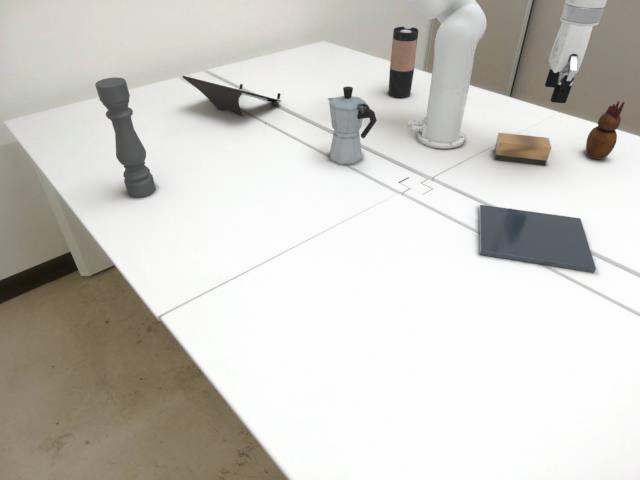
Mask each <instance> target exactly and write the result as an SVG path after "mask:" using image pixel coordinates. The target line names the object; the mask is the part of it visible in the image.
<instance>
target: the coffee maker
mask: <svg viewBox="0 0 640 480" xmlns="http://www.w3.org/2000/svg"><path fill="white" fill-rule="evenodd" d="M353 90H354V88H353V87H352V86H350V85H349V86H348V85H347V86H343V88H342V92H343V95H341V96H337V97H336V96H335V97H328V98H327V100H328V101H329V102H328V105H329V112H330V120H331V128H332V129H333V134H332V139H331V145H330V151H329V159H330V161H331V162H333V163H336V164H338V165H340V166H344V165H347V166H348V165H355V164H357V163H359V162H361V161H362V160H363V155H362V154H363V153H362V145H361V138H362V139H365V138H366V137H367V135H368V134H369V133H370V131H371V130H372V128H373V127H374V126H375V124H376V123H377V121H378V120H377V116H376V113H375V111H374V110H373V109H371V107H370V106H369V104H367V101H365V100H363V99H362V98H361V97H359V96H353V92H354V91H353ZM364 119H369V122H368V123H367V125H366V127H365V128H364V129H363V131H362V132H361V133H360V129H361V128H362V125H363V120H364Z"/></svg>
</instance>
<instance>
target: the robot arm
mask: <svg viewBox="0 0 640 480" xmlns="http://www.w3.org/2000/svg"><path fill="white" fill-rule="evenodd" d="M406 1H407V2H408V4H409V5H410V6H411V8H412V9H413V11H414V12H415V13H416V14H417V15H418V16H419V18H421V19H424V20H434V19H437V21H438V22H439V23H440V25H439V27H438V29H437V31H436V34H435V37H434V48H433V49H434V50H433V63H432V73H431V77H430V87H429V94H428V101H427V107H426V112H425V113H426V114H425V117H424V120H421V119H420V120H419V121H418V120H414V119H413V120H412V119H408V122H407V128H411V131H414V132H417V136H416V138H417V139H418V141H419V142H420V143H421V144H423V145H424V146H427V147H430V148H433V149H441V150H448V149H449V150H451V149H456V148H458V147H460V146H462V145H463V144H464V143H465V138H466V135H465V134H464V133H463V132H462V131H461V128H462V125H463V118H464V114H465V110H466V104H467V100H468V94H469V89H470V85H471V84H470V83H471V80H472V74H473V69H474V68H473V67H474V63H475V62H474V60H475V56H476V55H475V54H476V50H477V46H478V44H479V43H480V41H481V40H482V39H483V37H484V35H485V33H486V30H487V16H486V14H485V12H484V10H483V9H482V7H481V6H480V4H479V3H478V2H477V0H406ZM607 2H608V0H565V2H564V6H563V8H562V11H561V15H560V18H559V21H560V22H561V24H560V26H559V29H558V31H557V34H556V36H555V39H554V42H553V44H552V45H553V46H552V47H551V50H550V54H549V57H548V64H549V66H550V68H549V70H548V73H547V76H546V80H545V83H544V87H546V88H553V91H552V94H551V97H550V102H551V103H556V104H566V103H567V101H568V97H569V95H570V92H571V89H572V87H573V84H574V80H575V76H576V74H577V73H578V72H579V70H580V68H581V65H582V62H583V60H584V57H585V55H586V51H587V48H588V46H589V45H588V44H589V42H590V38H591V36H592V35H591V34H592V31H593V28H594V27H595V26H598V25H599V24H600V22H601V19H602V16H603V13H604V10H605V9H606V5H607Z"/></svg>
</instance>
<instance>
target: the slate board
mask: <svg viewBox="0 0 640 480" xmlns="http://www.w3.org/2000/svg"><path fill="white" fill-rule="evenodd" d="M478 212H479V213H478V214H479V217H478V220H479V225H478V226H479V255H480V256H485V257H486V256H487V257H493V258H499V259H500V258H501V259H506V260H512V261H519V262H525V263H532V264H537V265H544V266H549V267H550V266H551V267H557V268H563V269H568V270H569V269H570V270H574V271H575V270H577V271H581V272H582V271H584V272H587V273H595V271H596V269H597V267H596V264H595V261H594V257H593V255H592V251H591V248H590V245H589V242H588V238H587V235H586V232H585V228H584V225H583V222H582V218H580V217H573V216H566V215H557V214H551V213H544V212H537V211H529V210H522V209H516V208H508V207H500V206H492V205H485V204H480V205H479V208H478Z"/></svg>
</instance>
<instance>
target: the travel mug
mask: <svg viewBox="0 0 640 480" xmlns="http://www.w3.org/2000/svg"><path fill="white" fill-rule="evenodd" d="M418 38H419V29H418V28H417V27H410V28H406V27H405V26H396V27H394V29H393V33H392V43H391V53H390V64H389V78H388V95H389V96H390V97H392V98H395V99H405V98H409V97H410V96H411V92H412V87H413V81H414V80H413V78H414V71H415V65H416V55H417V47H418V40H419V39H418Z"/></svg>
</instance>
